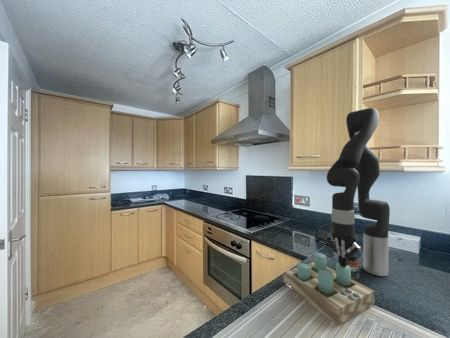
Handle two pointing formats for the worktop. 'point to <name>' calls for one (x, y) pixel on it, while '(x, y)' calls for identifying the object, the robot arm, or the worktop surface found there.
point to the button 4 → (343, 275)
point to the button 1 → (303, 272)
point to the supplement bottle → (354, 268)
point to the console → (331, 295)
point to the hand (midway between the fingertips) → (343, 265)
